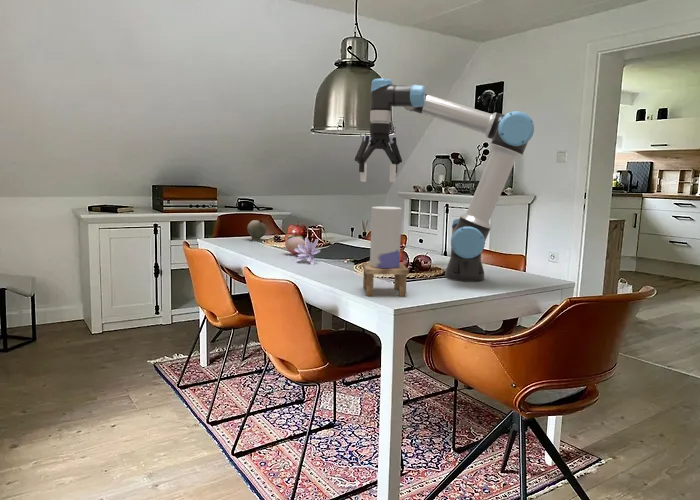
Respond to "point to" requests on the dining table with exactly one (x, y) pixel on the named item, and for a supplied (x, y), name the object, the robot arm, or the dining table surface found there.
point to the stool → (399, 273)
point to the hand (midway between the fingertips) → (378, 181)
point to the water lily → (307, 251)
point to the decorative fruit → (293, 243)
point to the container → (385, 237)
